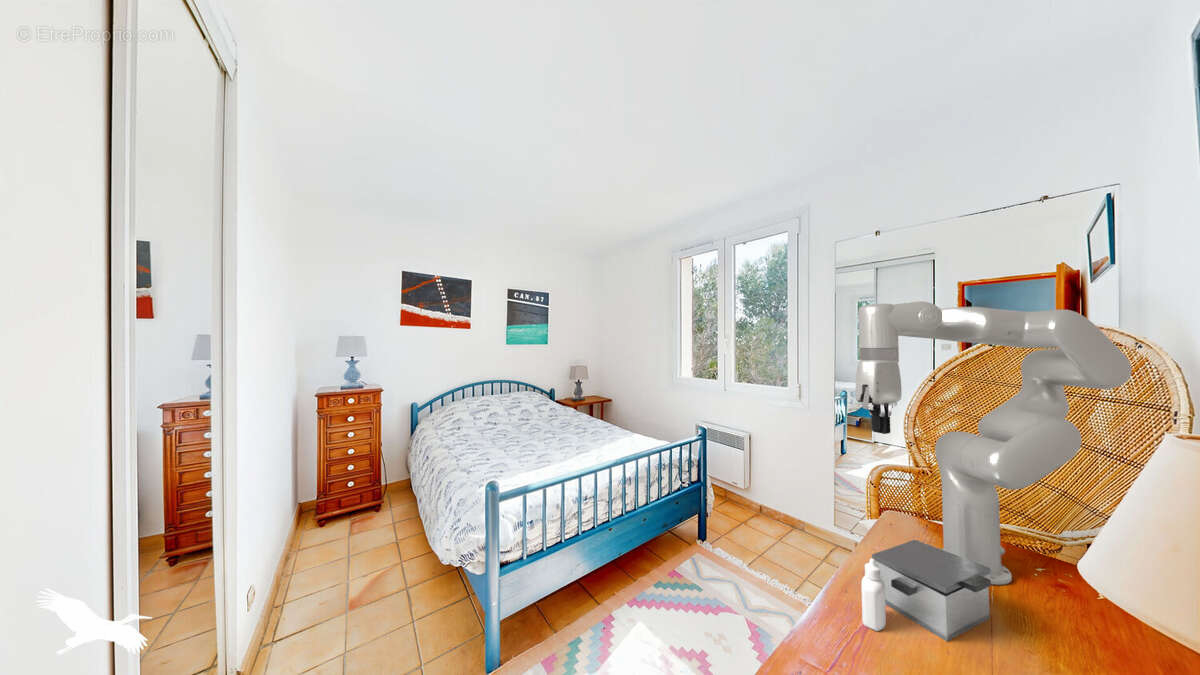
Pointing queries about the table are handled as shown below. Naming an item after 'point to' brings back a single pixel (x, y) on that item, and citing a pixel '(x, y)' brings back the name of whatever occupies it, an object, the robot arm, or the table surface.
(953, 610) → the grey rectangular box
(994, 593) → the table surface
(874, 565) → the eye dropper bottle
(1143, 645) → the table surface
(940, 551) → the lid
